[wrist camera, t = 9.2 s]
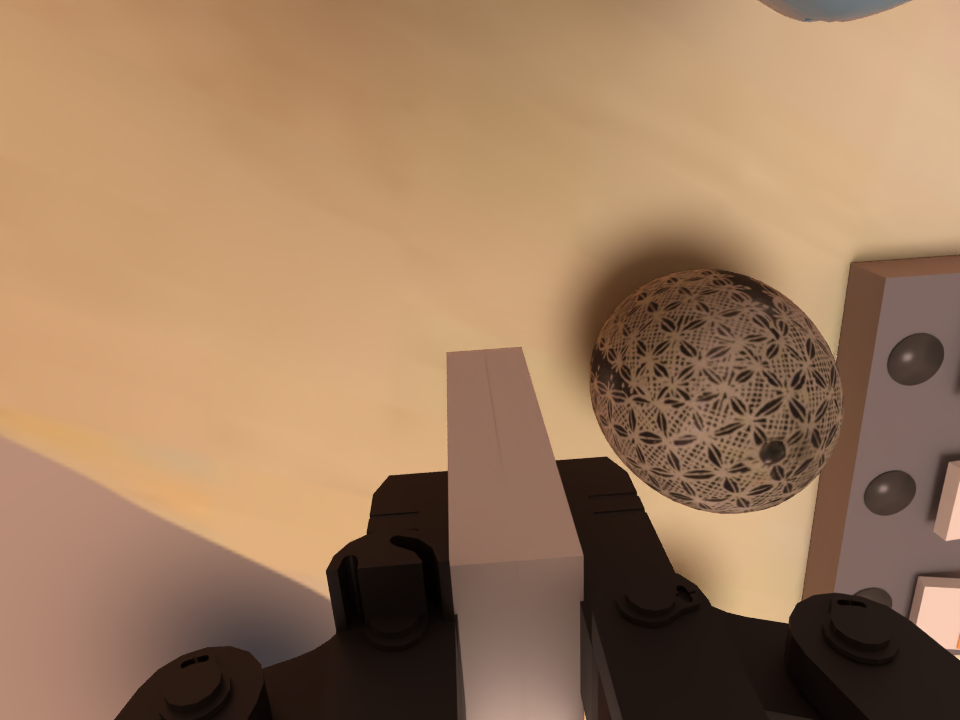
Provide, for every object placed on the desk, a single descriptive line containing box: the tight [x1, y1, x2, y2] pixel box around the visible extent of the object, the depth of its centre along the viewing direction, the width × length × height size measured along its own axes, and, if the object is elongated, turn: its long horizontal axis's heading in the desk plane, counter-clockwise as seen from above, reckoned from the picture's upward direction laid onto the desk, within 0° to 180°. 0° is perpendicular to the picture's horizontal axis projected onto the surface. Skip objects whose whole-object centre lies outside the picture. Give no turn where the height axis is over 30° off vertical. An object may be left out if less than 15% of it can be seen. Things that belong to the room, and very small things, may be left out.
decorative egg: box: [590, 269, 844, 514], centre depth 35 cm, size 12×12×15 cm
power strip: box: [802, 255, 960, 655], centre depth 45 cm, size 28×10×4 cm, turn 3°
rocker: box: [909, 576, 960, 650], centre depth 45 cm, size 5×4×1 cm
